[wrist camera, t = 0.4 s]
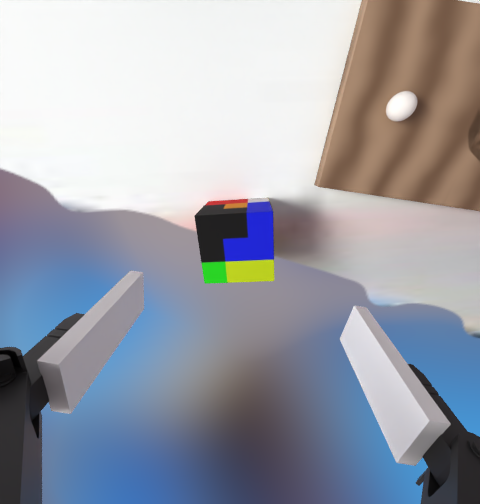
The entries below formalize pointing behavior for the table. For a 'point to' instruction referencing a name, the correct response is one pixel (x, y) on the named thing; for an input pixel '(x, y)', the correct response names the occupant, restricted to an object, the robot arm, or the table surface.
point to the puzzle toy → (236, 240)
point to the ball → (401, 106)
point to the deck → (427, 110)
